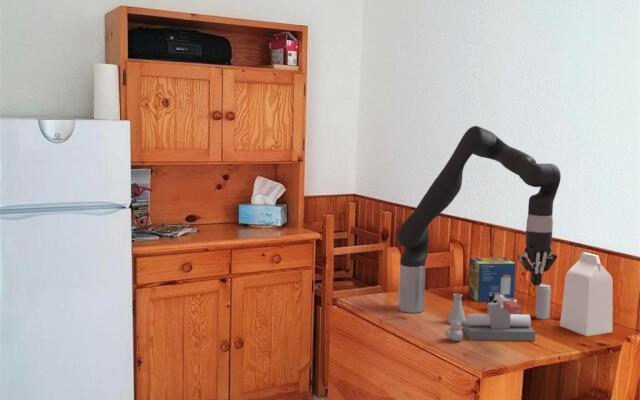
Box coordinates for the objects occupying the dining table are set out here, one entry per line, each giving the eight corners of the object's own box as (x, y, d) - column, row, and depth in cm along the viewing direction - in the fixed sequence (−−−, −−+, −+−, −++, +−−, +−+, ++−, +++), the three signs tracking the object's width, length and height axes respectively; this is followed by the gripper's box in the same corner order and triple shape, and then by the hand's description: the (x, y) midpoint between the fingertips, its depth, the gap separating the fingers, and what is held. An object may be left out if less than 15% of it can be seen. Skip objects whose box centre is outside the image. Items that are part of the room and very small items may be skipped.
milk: (559, 325, 226) (563, 252, 223) (585, 322, 230) (589, 249, 227) (586, 336, 215) (591, 258, 212) (612, 332, 219) (617, 256, 216)
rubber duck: (467, 341, 208) (468, 317, 207) (450, 344, 205) (451, 320, 204) (456, 336, 213) (457, 313, 212) (439, 339, 210) (440, 315, 209)
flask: (468, 320, 230) (469, 293, 229) (465, 326, 224) (466, 298, 222) (448, 318, 233) (448, 291, 232) (444, 324, 226) (445, 296, 225)
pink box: (492, 299, 215) (493, 293, 215) (502, 299, 215) (502, 292, 215) (511, 314, 199) (511, 307, 199) (521, 313, 199) (521, 306, 199)
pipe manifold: (469, 339, 210) (470, 305, 209) (462, 329, 221) (463, 296, 219) (534, 340, 210) (536, 306, 208) (524, 330, 220) (526, 297, 219)
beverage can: (532, 316, 237) (534, 283, 236) (545, 315, 237) (547, 283, 236) (538, 320, 232) (540, 287, 231) (551, 319, 233) (553, 286, 231)
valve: (522, 317, 235) (499, 308, 246) (522, 299, 235) (500, 291, 245) (507, 319, 233) (485, 311, 243) (508, 301, 232) (486, 293, 242)
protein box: (468, 295, 265) (469, 257, 263) (504, 294, 267) (506, 257, 265) (476, 302, 255) (478, 263, 253) (514, 301, 256) (516, 262, 255)
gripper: (550, 226, 203) (546, 281, 205) (513, 228, 199) (510, 283, 201) (565, 230, 196) (562, 286, 198) (527, 232, 192) (524, 289, 194)
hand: (535, 285), depth 200 cm, fingers closed
